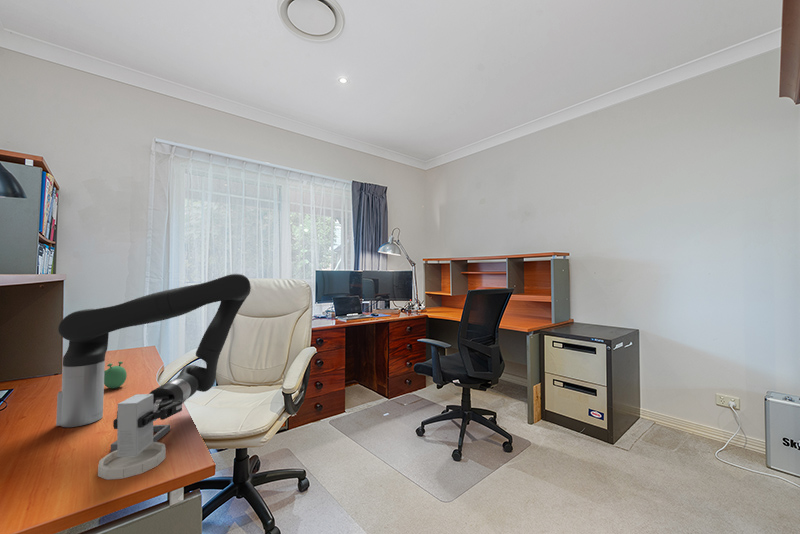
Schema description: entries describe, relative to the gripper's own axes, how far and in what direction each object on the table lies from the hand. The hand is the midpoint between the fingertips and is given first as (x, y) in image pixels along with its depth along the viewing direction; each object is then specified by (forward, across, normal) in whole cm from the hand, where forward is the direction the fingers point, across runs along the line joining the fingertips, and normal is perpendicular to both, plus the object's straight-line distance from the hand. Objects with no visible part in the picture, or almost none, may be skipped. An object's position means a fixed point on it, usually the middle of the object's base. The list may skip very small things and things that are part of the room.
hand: (128, 424), depth 75 cm
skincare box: (-3, 0, +7) cm, 8 cm away
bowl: (-3, 0, +10) cm, 10 cm away
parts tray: (-15, -5, +10) cm, 19 cm away
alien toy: (-62, -42, +11) cm, 75 cm away
